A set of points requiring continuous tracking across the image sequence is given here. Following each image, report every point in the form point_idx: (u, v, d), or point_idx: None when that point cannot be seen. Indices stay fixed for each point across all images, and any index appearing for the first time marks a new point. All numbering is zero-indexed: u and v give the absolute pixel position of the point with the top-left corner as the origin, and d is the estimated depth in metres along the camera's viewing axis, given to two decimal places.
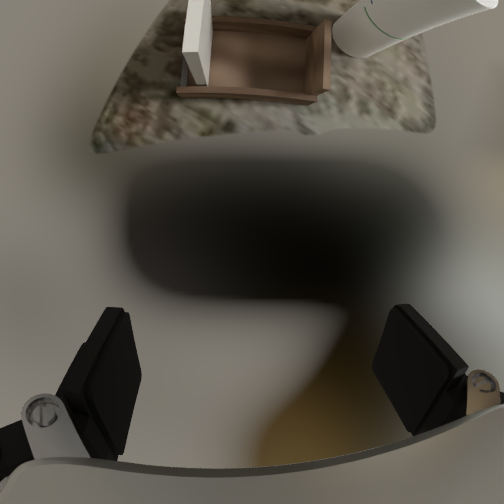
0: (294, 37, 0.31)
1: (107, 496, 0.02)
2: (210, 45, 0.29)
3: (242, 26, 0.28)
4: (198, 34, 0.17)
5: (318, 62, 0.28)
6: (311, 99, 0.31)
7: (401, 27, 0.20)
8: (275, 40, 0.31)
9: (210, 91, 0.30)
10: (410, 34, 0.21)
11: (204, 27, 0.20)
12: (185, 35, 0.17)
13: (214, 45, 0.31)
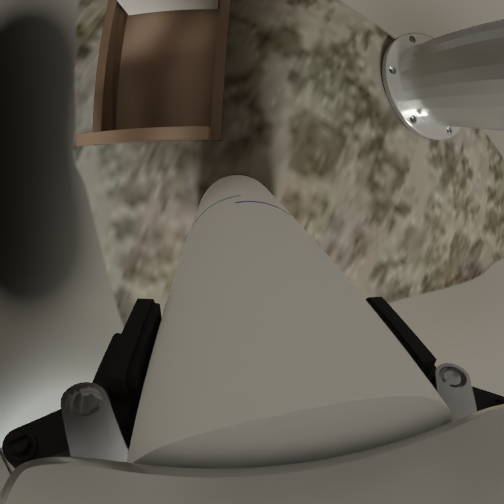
0: None
1: (107, 496, 0.02)
2: None
3: None
4: None
5: None
6: None
7: None
8: (203, 87, 0.23)
9: (108, 9, 0.16)
10: None
11: None
12: None
13: (195, 13, 0.20)
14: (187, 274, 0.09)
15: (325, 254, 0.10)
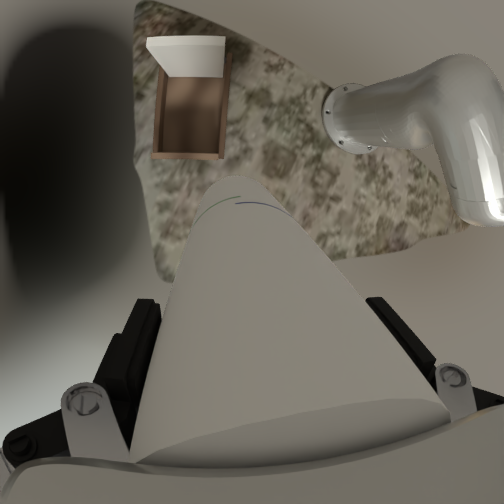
0: (219, 142, 0.44)
1: (107, 496, 0.02)
2: (203, 73, 0.37)
3: None
4: (160, 45, 0.24)
5: (179, 152, 0.38)
6: (153, 152, 0.40)
7: None
8: (214, 127, 0.43)
9: (159, 75, 0.36)
10: None
11: (182, 53, 0.27)
12: (160, 37, 0.24)
13: (209, 79, 0.40)
14: (187, 276, 0.09)
15: (325, 255, 0.10)
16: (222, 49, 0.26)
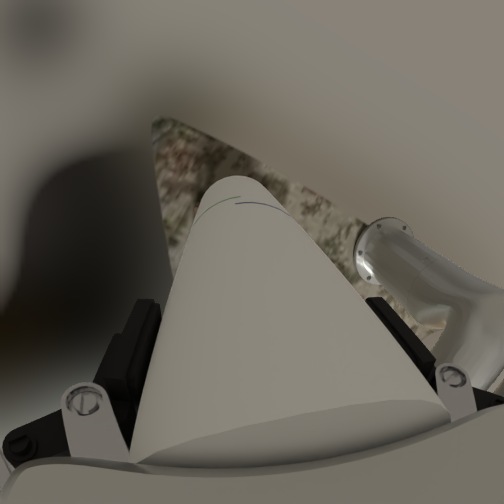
0: None
1: (107, 496, 0.02)
2: None
3: None
4: None
5: None
6: None
7: None
8: None
9: None
10: None
11: None
12: None
13: None
14: (187, 276, 0.09)
15: (325, 256, 0.10)
16: None
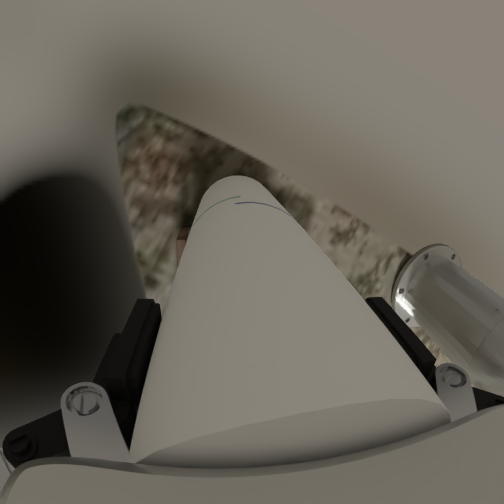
0: None
1: (107, 496, 0.02)
2: None
3: None
4: None
5: None
6: None
7: None
8: None
9: None
10: None
11: None
12: None
13: None
14: (187, 276, 0.09)
15: (325, 255, 0.10)
16: None
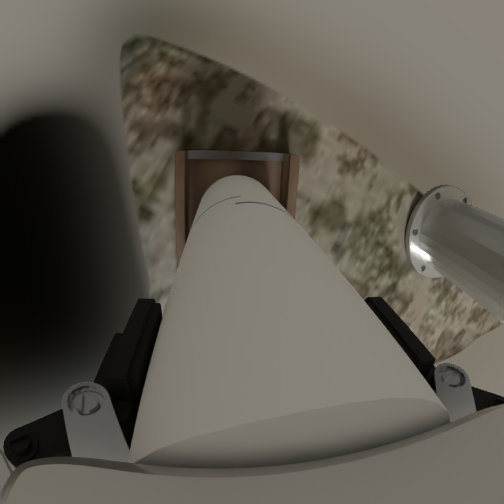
0: None
1: (107, 496, 0.02)
2: None
3: None
4: None
5: None
6: None
7: None
8: None
9: (177, 197, 0.25)
10: None
11: None
12: None
13: None
14: (187, 275, 0.09)
15: (324, 255, 0.10)
16: None
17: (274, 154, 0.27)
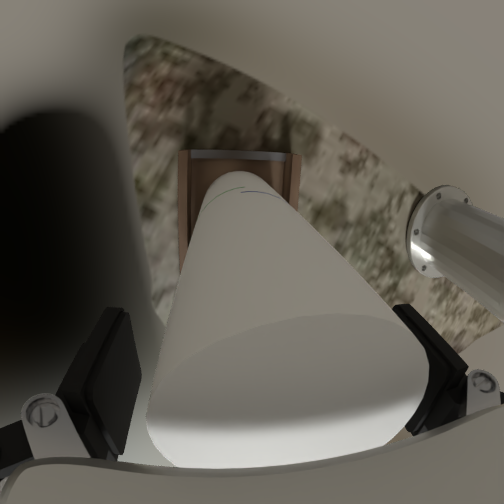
0: None
1: (107, 496, 0.02)
2: None
3: None
4: None
5: None
6: None
7: None
8: None
9: (179, 196, 0.25)
10: None
11: None
12: None
13: None
14: (201, 246, 0.10)
15: (320, 234, 0.12)
16: None
17: (276, 154, 0.27)
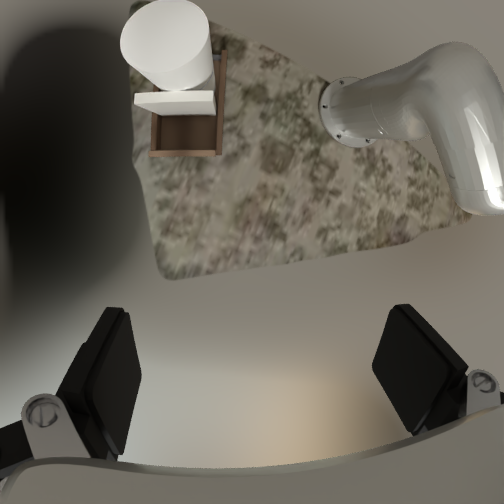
0: (216, 139, 0.44)
1: (107, 496, 0.02)
2: (195, 114, 0.40)
3: None
4: (148, 102, 0.27)
5: None
6: (151, 151, 0.40)
7: None
8: (211, 124, 0.43)
9: None
10: None
11: (171, 105, 0.30)
12: (148, 93, 0.26)
13: None
14: None
15: None
16: (211, 103, 0.28)
17: (215, 55, 0.38)
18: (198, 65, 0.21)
